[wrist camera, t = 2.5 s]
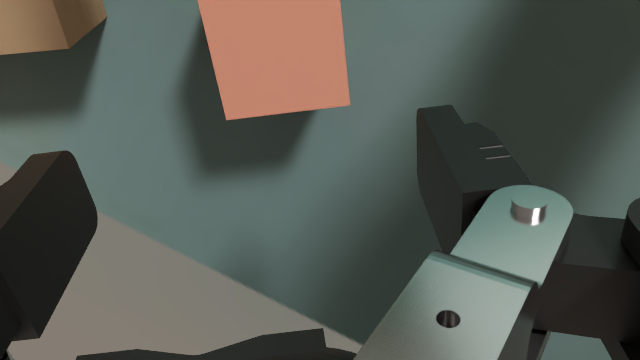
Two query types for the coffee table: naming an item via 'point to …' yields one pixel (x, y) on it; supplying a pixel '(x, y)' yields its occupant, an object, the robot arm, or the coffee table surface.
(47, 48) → the walnut block
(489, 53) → the coffee table surface
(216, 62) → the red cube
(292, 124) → the coffee table surface
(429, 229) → the coffee table surface
